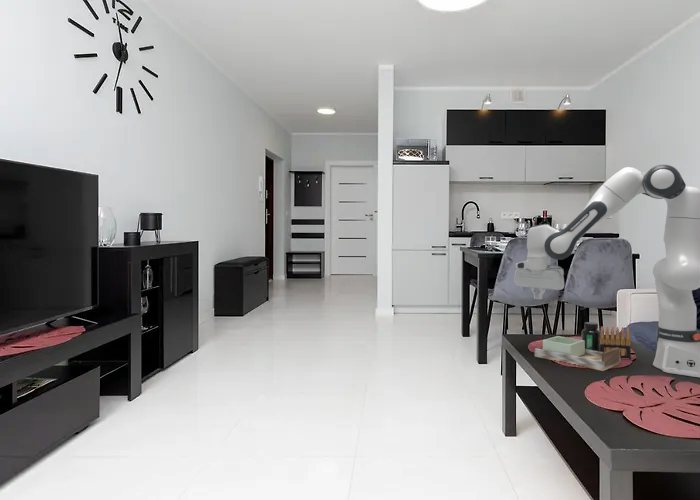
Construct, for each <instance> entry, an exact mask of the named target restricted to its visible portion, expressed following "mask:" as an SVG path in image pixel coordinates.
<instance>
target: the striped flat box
mask: <svg viewBox="0 0 700 500" xmlns="http://www.w3.org/2000/svg"><path fill="white" fill-rule="evenodd" d="M534 357H536V358H540V359H545V360H549V361H554V360H556V361H555V362H559V361H562V362H561V363H564V362H566V363H565V364H568V363H571V364H570V365H573V364H576V365H575V366H578V365H580V366H579V367H582V366H584V367H583V368H587V367H588V368H587V369H592V370H597V371H601V372H605V371H607V370H608V369H611V368H613V367H616V366H618V365H621V364H620V363H621V362H622V361H621V360H622V359H621V356H620V355H619V348H617V347H616V348H614V349H611V350H608V351H606V352H605V351H604V352H599V351H593V350H588V349H585V354H583V355H581V356H578V357H577V356H572V355H567V354H562V353H557V352H552V351H547V350H543V348H542V349H541V348H534Z"/></svg>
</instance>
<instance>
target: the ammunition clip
mask: <svg viewBox="0 0 700 500" xmlns="http://www.w3.org/2000/svg"><path fill="white" fill-rule="evenodd" d="M610 328H611V329H609V326H606V328H605V329H604V327H603V325H602V326H600V330H599V331H600V346H599V352H606V351H608V350H611V349H614V348H616V347H617V348H619V355H620V356H621V358H629V359H628V360H631V359H632V356H631V354H632V353H631V351H632V350H631V333H630V332H631V331H630V328H629V327H627V328H626V331H625V328H624V327H621V331H620V329H619V327H618V326H617V327H616V329H614V326H611V327H610ZM604 330H605V331H604Z"/></svg>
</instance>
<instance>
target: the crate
mask: <svg viewBox="0 0 700 500" xmlns="http://www.w3.org/2000/svg"><path fill="white" fill-rule="evenodd" d="M542 350H547V351H552V352H557V353H562V354H567V355H572V356H577V357H578V356H581V355H583V354H585V341H584V340H582V339H577V338H571V337H567V336H566V337H565V336H560V335H556V336H553V337H549V338H545V339H543V340H542Z"/></svg>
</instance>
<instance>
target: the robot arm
mask: <svg viewBox="0 0 700 500" xmlns="http://www.w3.org/2000/svg"><path fill="white" fill-rule="evenodd" d="M685 182H686V181H684V178H683V177H682V175H681V173H680V172H679V170H678V169H677V168H676V167H674V166H672V165H669V164H658V165H655V166H653V167H651V168H650V169H649V170H648V171H647V172H643V171H640V170H639V169H637V168H636V167H632V166H625V167H623V168H621V169H620V170H618V171H617V172H616V173H614V174H613V175H612V176H610V177H609V178H608V179H607V180H606V181H605V182H603V184H601V186H600V187H599V188H598V189H597V190H596V191H595V193H593V195H592V197H590V199H589V201H588V203H586V205H585V207H584V209H583V210H582V211H581V212H580V213H579V214H578V215H577V216H576V217H575V218H574V219H573V220H572V221H571V222H570V223H569V224H567V226H566V227H564V228H563V229H561V230H558V229H556V228H553V227H552V226H551V225H549V224H548V223H543V224H538V225H537V224H535V225H533V226H531V227H530V228H528V231H527V237H526V248H527V255H526V260H523V261H520V262H516V263H515V265H514V266H515V270H514V275H513V284H514V285H515V286H516V287H525V288H530V291H531V293H532V295H533V299H534V300H543V298H544V297H543V296H544V294H545V292H546V290H555V291H561V290H563V289H564V288H565V278H564V275H565V272H564V268H562V267H561V266H560V265H551V259H554V260H556V261H557V260H559V261H560V260H565V259H567V258H569V257H570V256H571V255H572V254H573V253H574V252H575V251H576V249H577V243H578V241H579V240H580V239H581V238H582V237H583V236H584V235H585V234H586V233H588V231H590V230H591V229H592V227H594V226H595V225H596V224H598V223H599V222H602V221H603V220H605V219H608V218H610V217H612V216H614V215H615V214H617V213H619V211H621V210H622V209H623V208H624V207H626V206H627V204H629V203H630V202H631V201H632V200H633V199H634V198H635V197H637V196H638V195H640V194H642V195H645V196H647V197H650V198H653V199H655V200H656V199H657V200H663V199H664V201H665V202H666V204H667V209H666V215H665V216H666V217H665V224H664V231H663V242H664V249H665V257H664V258H661V259H660V260H658V261H657V262H656V263H655V264H654V265H653V267H652V268H653V269H652V274H653V277H654V281H655V283H654V284H655V291H656V295H657V302H658V326H657V328H656V341H657V347H656V351H655V352H656V353H655V357H654V359H653V363H652V366H653V367H655V368H657V369H659V370H662V372H664V373H668V374H675V375H679V376H688V377H692V378H693V377H694V378H700V330H698V329H697V309H698V307H697V304H696V303H695V300H694V296H693V291H695V290H698V289H700V188H698V187H695V186H689V185H686V183H685ZM538 289H539V293H538V292H537V290H538Z"/></svg>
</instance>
